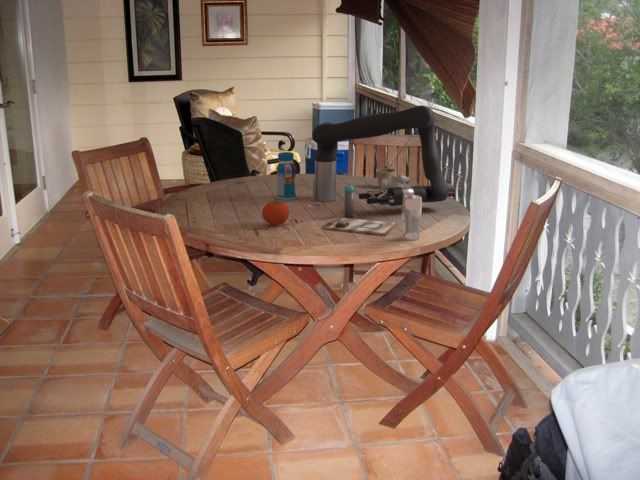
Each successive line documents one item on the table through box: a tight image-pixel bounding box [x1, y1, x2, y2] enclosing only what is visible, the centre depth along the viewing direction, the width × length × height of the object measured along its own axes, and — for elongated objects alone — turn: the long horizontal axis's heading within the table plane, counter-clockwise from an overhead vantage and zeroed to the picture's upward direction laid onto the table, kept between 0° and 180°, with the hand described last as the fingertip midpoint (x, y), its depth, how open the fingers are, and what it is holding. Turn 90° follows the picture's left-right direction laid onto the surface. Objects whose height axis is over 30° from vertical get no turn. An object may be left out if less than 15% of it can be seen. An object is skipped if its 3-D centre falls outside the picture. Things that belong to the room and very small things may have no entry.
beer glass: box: [401, 195, 423, 241], centre depth 236 cm, size 7×7×15 cm
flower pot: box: [375, 168, 397, 190], centre depth 318 cm, size 9×9×9 cm
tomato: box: [261, 199, 290, 226], centre depth 255 cm, size 10×10×10 cm
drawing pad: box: [322, 216, 399, 237], centre depth 253 cm, size 24×17×3 cm
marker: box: [343, 185, 355, 219], centre depth 265 cm, size 4×4×12 cm
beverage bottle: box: [275, 151, 297, 201], centre depth 297 cm, size 8×8×20 cm
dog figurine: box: [380, 171, 410, 193], centre depth 302 cm, size 5×13×11 cm, turn 73°
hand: (363, 198), depth 267 cm, fingers open, 8 cm apart
